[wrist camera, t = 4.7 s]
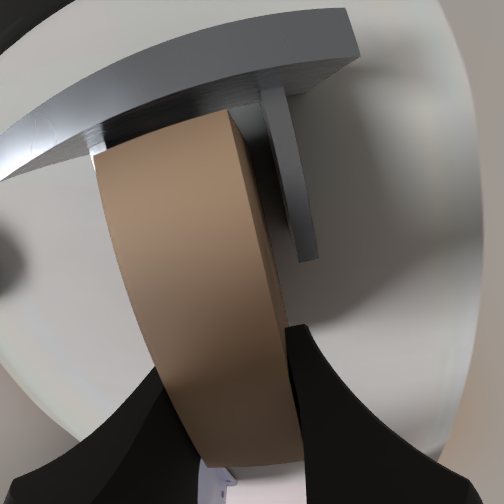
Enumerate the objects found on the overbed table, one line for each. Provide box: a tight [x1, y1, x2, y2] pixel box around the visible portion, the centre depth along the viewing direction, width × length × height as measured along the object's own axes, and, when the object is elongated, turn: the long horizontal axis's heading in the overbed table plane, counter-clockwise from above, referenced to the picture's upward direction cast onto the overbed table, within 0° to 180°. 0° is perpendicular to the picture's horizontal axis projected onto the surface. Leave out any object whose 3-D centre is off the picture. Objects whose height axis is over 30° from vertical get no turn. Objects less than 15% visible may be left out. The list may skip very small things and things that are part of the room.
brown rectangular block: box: [93, 109, 304, 468], centre depth 9 cm, size 9×3×5 cm, turn 13°
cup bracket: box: [0, 8, 361, 263], centre depth 8 cm, size 6×8×6 cm
